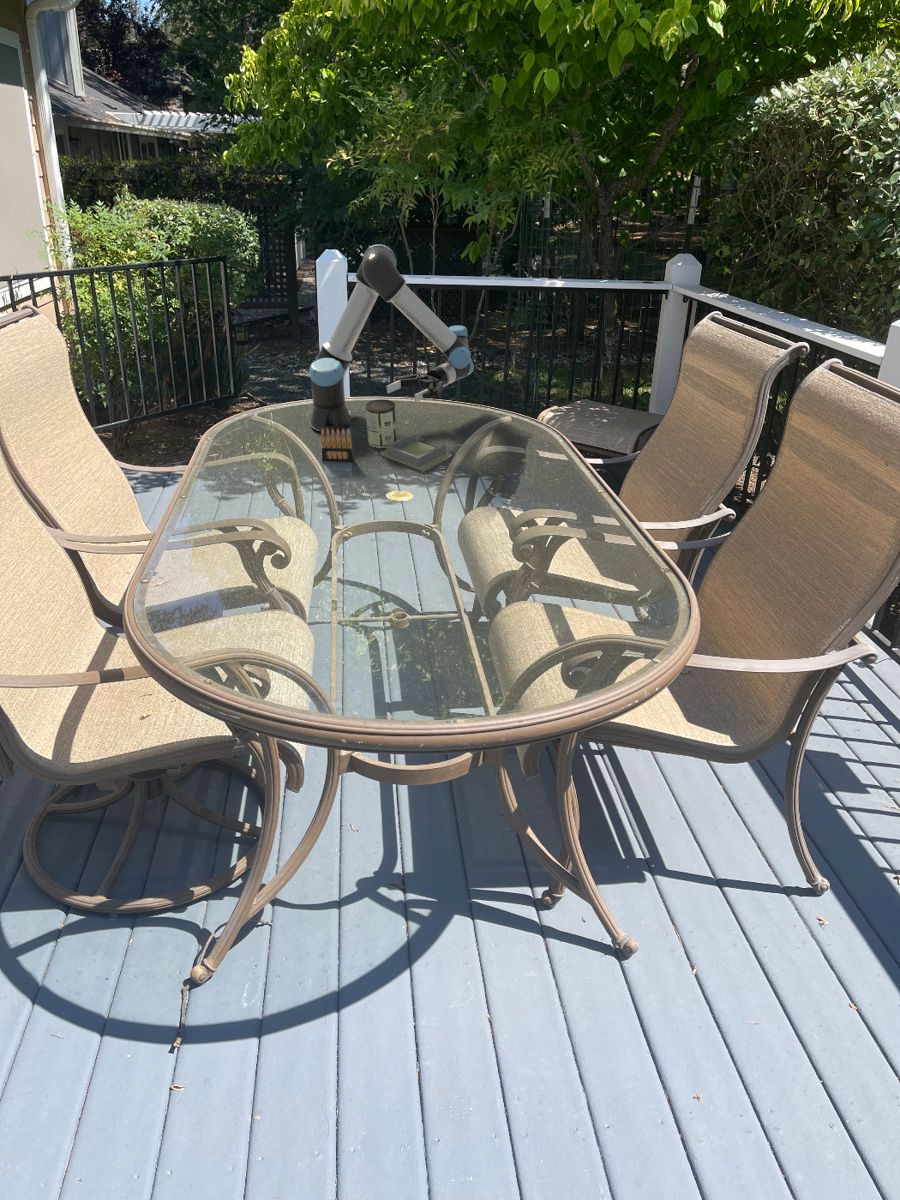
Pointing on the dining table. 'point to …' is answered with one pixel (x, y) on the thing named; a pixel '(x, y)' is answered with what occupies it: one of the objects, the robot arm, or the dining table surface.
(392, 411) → the coffee can
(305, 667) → the dining table surface
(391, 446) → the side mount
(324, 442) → the ammunition clip
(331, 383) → the robot arm
